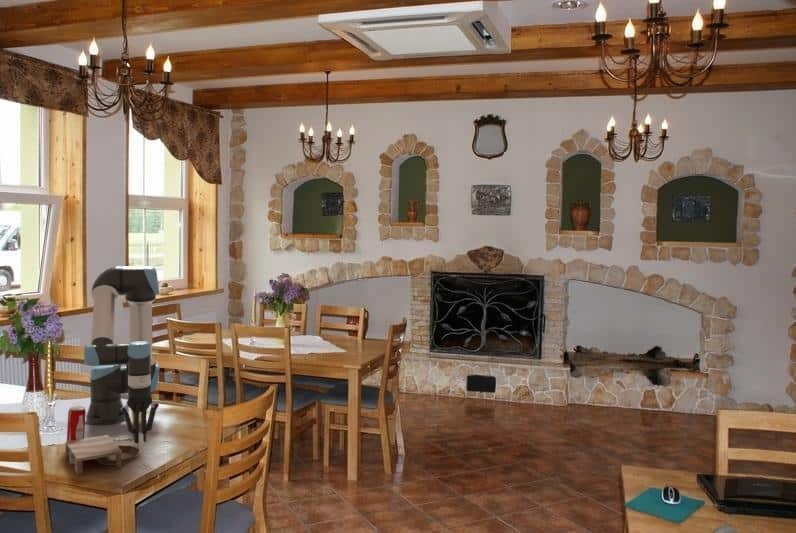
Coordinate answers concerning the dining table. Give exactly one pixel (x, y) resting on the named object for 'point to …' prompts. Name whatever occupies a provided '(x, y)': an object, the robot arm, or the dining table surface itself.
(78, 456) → the overhang shelf
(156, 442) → the dining table surface
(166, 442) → the dining table surface
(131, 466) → the dining table surface
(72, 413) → the beverage can
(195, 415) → the dining table surface
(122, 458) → the saucer
